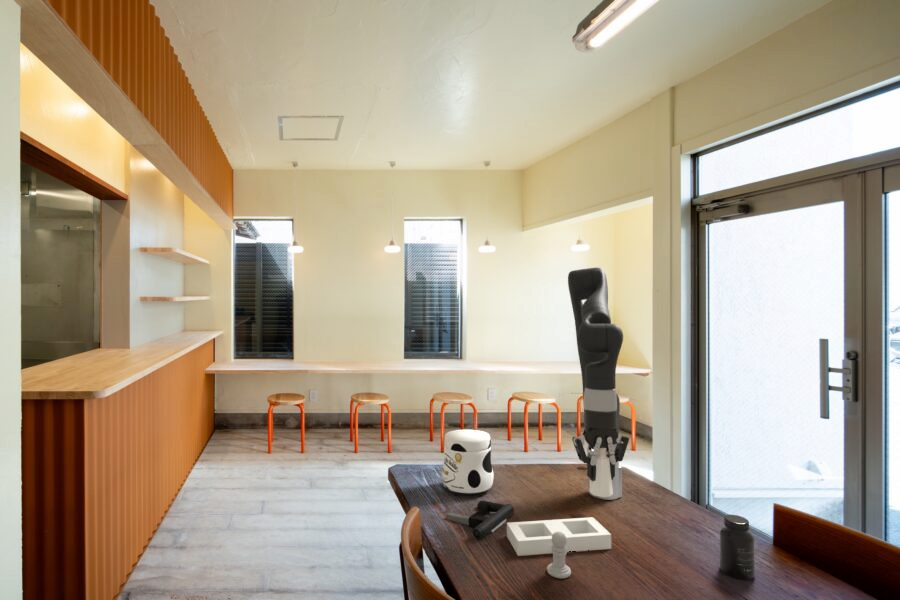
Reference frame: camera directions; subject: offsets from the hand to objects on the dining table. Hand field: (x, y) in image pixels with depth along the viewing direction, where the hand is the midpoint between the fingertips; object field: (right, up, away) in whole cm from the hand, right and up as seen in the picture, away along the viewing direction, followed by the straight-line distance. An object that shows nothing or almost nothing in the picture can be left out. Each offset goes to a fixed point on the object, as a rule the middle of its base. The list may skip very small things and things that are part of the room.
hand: (600, 479), depth 110 cm
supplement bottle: (+29, -19, -6) cm, 35 cm away
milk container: (-30, -21, +44) cm, 57 cm away
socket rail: (-8, -19, +8) cm, 22 cm away
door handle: (-28, -20, +21) cm, 40 cm away
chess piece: (-11, -19, -6) cm, 23 cm away
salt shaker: (0, -3, 0) cm, 3 cm away
